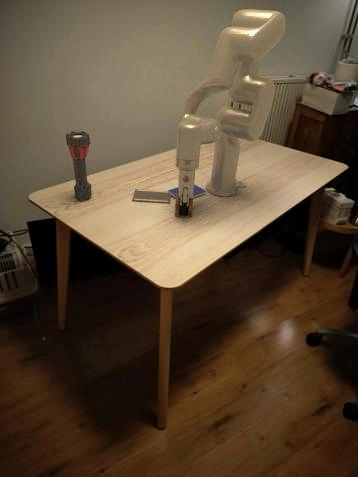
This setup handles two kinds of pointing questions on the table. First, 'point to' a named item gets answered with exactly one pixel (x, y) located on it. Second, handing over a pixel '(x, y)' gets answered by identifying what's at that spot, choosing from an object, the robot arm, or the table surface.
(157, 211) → the table surface
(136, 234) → the table surface
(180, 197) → the cube
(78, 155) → the flashlight
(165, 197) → the mat
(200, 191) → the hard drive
